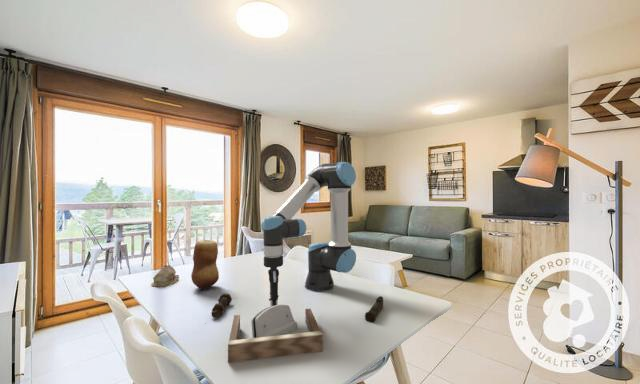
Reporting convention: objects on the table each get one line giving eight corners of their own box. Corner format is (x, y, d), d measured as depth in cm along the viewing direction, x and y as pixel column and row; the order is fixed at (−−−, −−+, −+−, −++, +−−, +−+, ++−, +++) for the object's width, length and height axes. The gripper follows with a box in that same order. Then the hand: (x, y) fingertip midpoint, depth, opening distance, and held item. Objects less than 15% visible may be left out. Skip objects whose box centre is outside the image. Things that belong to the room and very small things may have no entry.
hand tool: (374, 324, 106) (374, 311, 106) (364, 321, 108) (364, 309, 108) (388, 306, 123) (388, 296, 123) (379, 305, 125) (379, 294, 125)
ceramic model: (166, 287, 150) (166, 268, 150) (147, 286, 151) (147, 267, 151) (182, 279, 164) (182, 262, 164) (164, 278, 165) (164, 261, 165)
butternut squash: (221, 289, 146) (221, 240, 146) (193, 294, 138) (193, 243, 139) (214, 282, 157) (214, 237, 158) (188, 287, 150) (188, 239, 150)
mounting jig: (310, 321, 108) (310, 307, 108) (322, 351, 87) (322, 333, 87) (234, 329, 102) (234, 314, 102) (227, 362, 81) (227, 344, 81)
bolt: (213, 323, 111) (224, 307, 126) (224, 317, 111) (234, 301, 126) (205, 311, 110) (217, 296, 125) (216, 304, 111) (227, 290, 126)
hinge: (262, 346, 90) (255, 313, 93) (253, 346, 93) (247, 315, 96) (298, 327, 103) (291, 299, 106) (290, 328, 106) (283, 300, 108)
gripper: (263, 252, 117) (263, 310, 117) (264, 259, 104) (265, 324, 104) (281, 251, 119) (281, 308, 118) (284, 258, 106) (285, 321, 106)
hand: (274, 315), depth 111 cm, fingers closed
